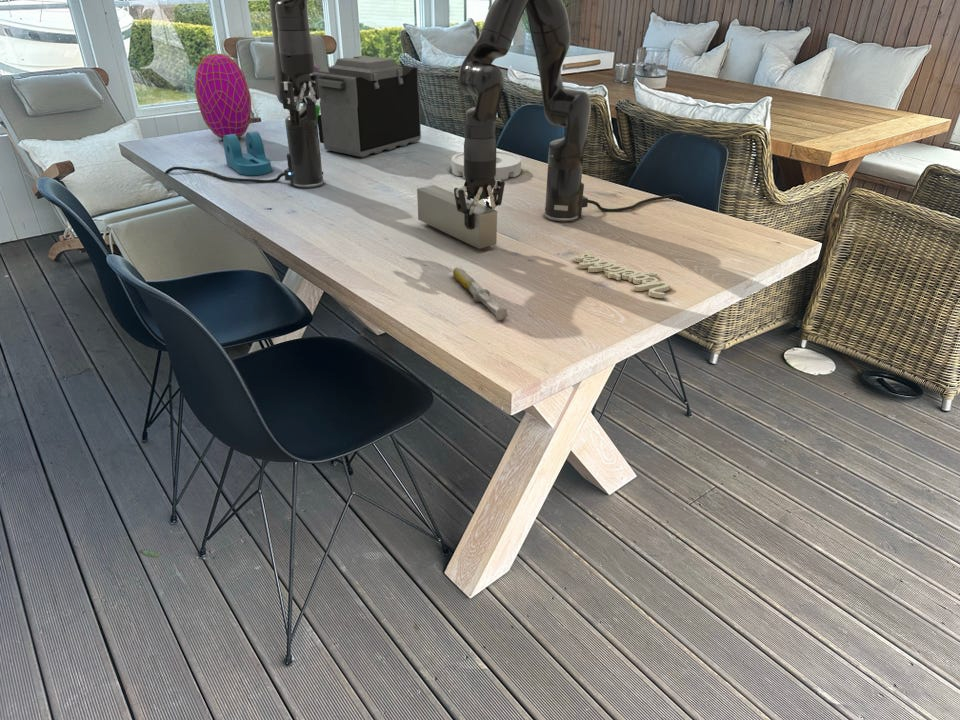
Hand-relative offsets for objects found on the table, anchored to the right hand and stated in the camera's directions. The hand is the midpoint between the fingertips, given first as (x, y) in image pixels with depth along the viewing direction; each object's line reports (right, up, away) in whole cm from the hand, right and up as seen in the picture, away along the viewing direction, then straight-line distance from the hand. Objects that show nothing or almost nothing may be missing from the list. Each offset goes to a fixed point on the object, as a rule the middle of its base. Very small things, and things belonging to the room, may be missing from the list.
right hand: (479, 225), depth 167 cm
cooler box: (-41, +48, +91) cm, 111 cm away
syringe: (0, -19, -22) cm, 29 cm away
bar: (-6, 0, +9) cm, 11 cm away
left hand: (-43, +25, 0) cm, 50 cm away
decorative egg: (-96, +53, +99) cm, 148 cm away
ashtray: (+2, +30, +63) cm, 70 cm away
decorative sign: (+33, -14, -11) cm, 37 cm away
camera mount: (-76, +31, +62) cm, 103 cm away
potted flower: (-71, +68, +125) cm, 159 cm away
